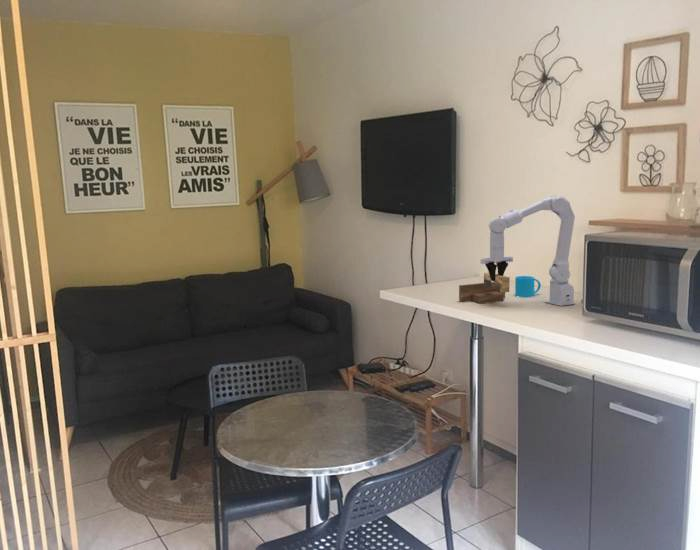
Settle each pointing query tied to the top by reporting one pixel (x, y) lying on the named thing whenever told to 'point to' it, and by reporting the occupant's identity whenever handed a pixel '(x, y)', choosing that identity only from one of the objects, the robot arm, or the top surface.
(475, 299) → the stepped wooden block
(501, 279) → the rail
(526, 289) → the mug
